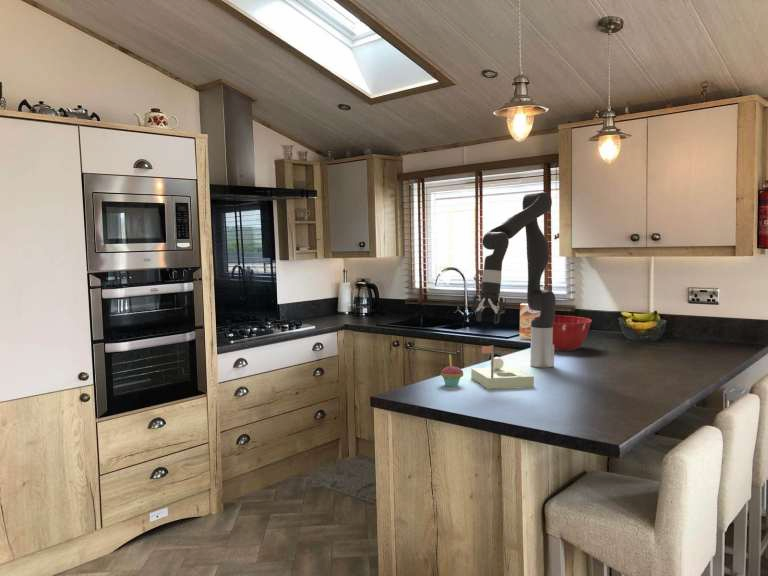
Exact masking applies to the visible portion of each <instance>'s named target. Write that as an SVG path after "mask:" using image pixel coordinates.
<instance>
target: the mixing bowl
mask: <svg viewBox="0 0 768 576" xmlns="http://www.w3.org/2000/svg"><path fill="white" fill-rule="evenodd" d="M538 317H539V316H538ZM538 317H534V318H533V319H536V318H538ZM591 323H592V319H591V318H587V317H581V316H574V315H555V318H554V322H553V341H552V344H553V345H554V352H556V351H557V352H572V351H571V350H573V351H576V350H577V349H579V347H581V346H582V345H583V342H585V340H586V337H587V335H588V333H589V330H590V327H591Z"/></svg>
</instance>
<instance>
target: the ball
mask: <svg viewBox="0 0 768 576" xmlns="http://www.w3.org/2000/svg"><path fill="white" fill-rule="evenodd" d="M502 367H504V360H503V359H502V358H501V357H499V356H495V357H494V363H493V369H495V370H499V369H501V368H502Z"/></svg>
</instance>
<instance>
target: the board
mask: <svg viewBox="0 0 768 576" xmlns="http://www.w3.org/2000/svg"><path fill="white" fill-rule="evenodd" d="M494 350H495V348H494V345H485V346H484V345H483V346H481V354H491V355H490V357H491V358H490V367H471V369H470V372H471V373H470V375H471V377H470V378H471V379H472V380H473V379H474V380H473V381H475V382H476V381H477V382H476V383H477V384H479V383H480V384H479V385H481V386H482V385H483V387H484V388H485V387H486V389H487V390H493V389H492V388H502V389H513V388H512V387H523V388H534V387H535V378H534V377H535V376H534V375H532V374H531V373H528V372H526V371H524V370H522V369H521V368H518V367H516V366H503V367H502V368H501V369H499V370H495V369H493V363H494V354H495V353H494Z"/></svg>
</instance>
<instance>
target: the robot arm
mask: <svg viewBox="0 0 768 576" xmlns="http://www.w3.org/2000/svg"><path fill="white" fill-rule="evenodd" d="M552 205H553V199H552V196H551V195H550V194H549V193H548V192H545V191H537V192H528V193H527V192H526V193H525V194H524V196H523V199H522V210H520V211H519V212H517V213H514V214H512V215H510V216H509V217H507V219H506V220H504V222H502V223H501V224H500V225H498V226H496V227H494V228H492V229H490V230H488V231H487V232H486V233H485V234H484V236H483V237H482V243H481V244H482V246H483V247H484V248H485V249H486V250H491V251H492V254H489V255H487V256H485V258H484V262H483V263H484V264H483V273H482V279H481V288H480V293H481V295H478V294H475V295H474V298H473V303H472V310H474V311H475V312H476V314H475V319H476V322H482V315H483V310H484V309H486V308H491V309H492V310H493V312H494V317H493V323H494V324H499V323H500V320H501V314H505V313H506V305H507V304H506V302H507V298H506V297H503V296H501V297H500V294H501V287H502V285H501V284H502V270H503V261H504V258H505V256H506V253H507V250H508V247H509V243H510V241H509V240H510V239H513V237H515V236H516V235H517V234H518V233H520V231H521V230H522V229H524V228H525V238H526V258H527V293H526V294H527V295H526V297H527V299H526V300H527V304H528V306H529V308H530V309H531V310H535V311H541V313H540V316H539V317H538V318H536V319H533V320H532V321H531V340H530V358H529V359H530V363H529V365H530V366H531V367H532V368H533V367H534V368H543V369H544V368H545V369H546V368H551V367H553V368H554V367H555V350H554V345H553V344H552V341H553V322H554V318H555V316H556V303H557V302H556V295H555V293H554V292H553V291H552V290H546V289H541V279H542V275H543V273H544V271H545V270H546V268H547V265H548V264H549V260H550V250H549V242H548V241H547V238H546V237H545V235H544V233H543V232H542V229H541V228H540V225H539V222H538V218H540V217H541V216H543V215H545V214H546V213H548V212H549V211H550V209H551V207H552Z"/></svg>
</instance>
